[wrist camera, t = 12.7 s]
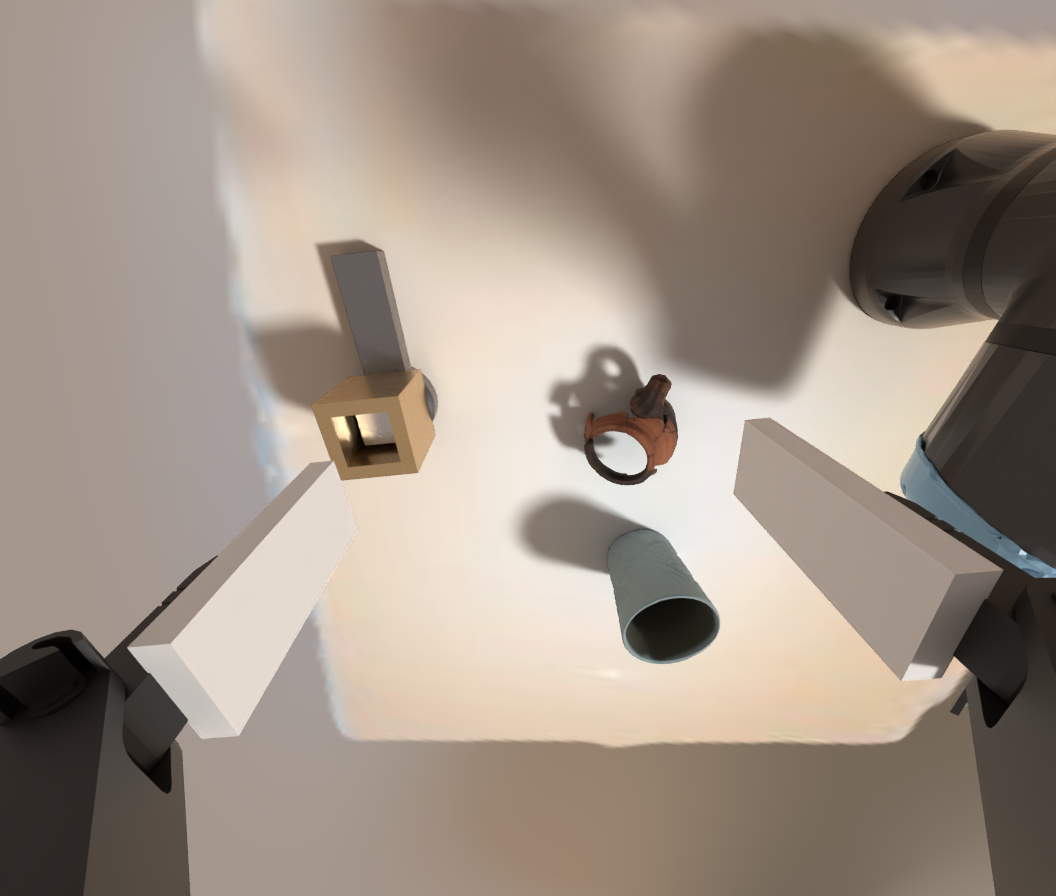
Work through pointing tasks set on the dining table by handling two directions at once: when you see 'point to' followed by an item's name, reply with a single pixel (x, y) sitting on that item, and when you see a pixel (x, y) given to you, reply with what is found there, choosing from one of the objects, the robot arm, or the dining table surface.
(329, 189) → the dining table surface
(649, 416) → the ring-shaped clay flask
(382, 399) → the hollow square tube
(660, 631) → the grey green cup
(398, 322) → the grey handled bowl
